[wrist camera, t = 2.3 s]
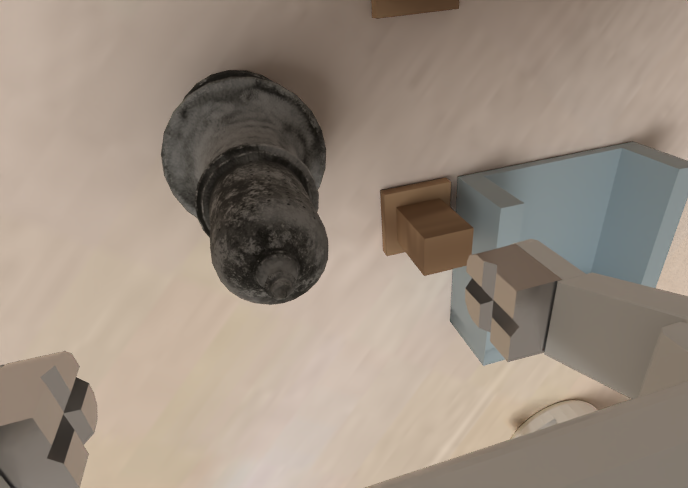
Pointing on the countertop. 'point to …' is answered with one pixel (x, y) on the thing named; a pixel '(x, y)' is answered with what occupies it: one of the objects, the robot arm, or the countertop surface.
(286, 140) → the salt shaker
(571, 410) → the mug
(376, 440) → the countertop surface
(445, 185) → the pair of brown posts
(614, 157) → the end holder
